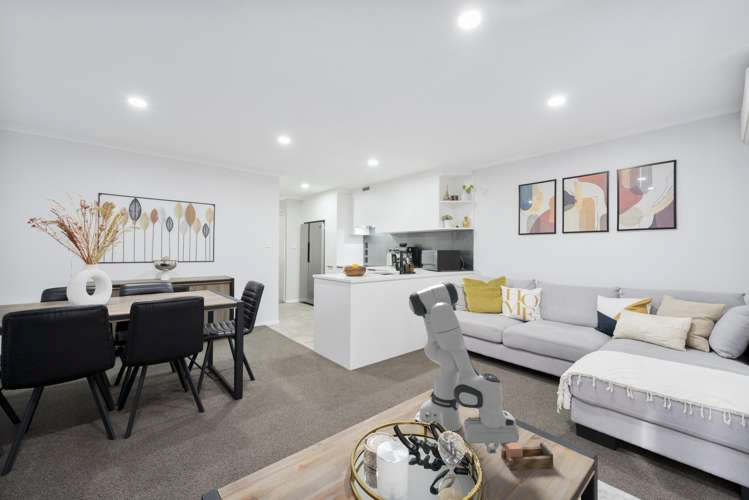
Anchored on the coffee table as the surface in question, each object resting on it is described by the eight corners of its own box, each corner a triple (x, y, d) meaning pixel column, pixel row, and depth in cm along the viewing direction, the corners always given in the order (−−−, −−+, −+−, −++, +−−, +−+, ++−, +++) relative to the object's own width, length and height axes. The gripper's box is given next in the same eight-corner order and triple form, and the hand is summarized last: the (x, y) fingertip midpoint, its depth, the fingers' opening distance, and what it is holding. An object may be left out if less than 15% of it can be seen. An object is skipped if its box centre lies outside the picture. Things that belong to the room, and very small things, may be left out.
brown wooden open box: (510, 470, 117) (509, 456, 117) (501, 458, 124) (501, 445, 124) (553, 468, 118) (553, 454, 118) (542, 456, 125) (542, 442, 125)
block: (510, 464, 119) (510, 449, 119) (506, 458, 122) (505, 443, 122) (522, 464, 119) (522, 448, 119) (518, 458, 122) (518, 443, 122)
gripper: (466, 422, 116) (467, 458, 116) (520, 421, 116) (521, 457, 116) (461, 413, 123) (462, 447, 123) (512, 412, 123) (513, 446, 123)
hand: (491, 452), depth 119 cm, fingers closed
